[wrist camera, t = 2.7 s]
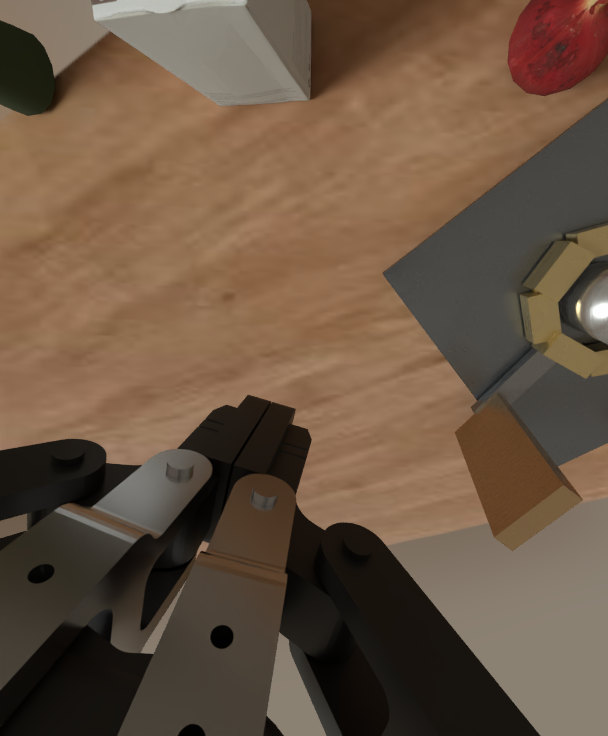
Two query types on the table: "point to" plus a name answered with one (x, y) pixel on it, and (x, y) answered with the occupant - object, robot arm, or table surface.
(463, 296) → the hub base
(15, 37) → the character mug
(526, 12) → the onion
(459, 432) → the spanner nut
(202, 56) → the skincare box
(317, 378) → the table surface
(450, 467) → the table surface
